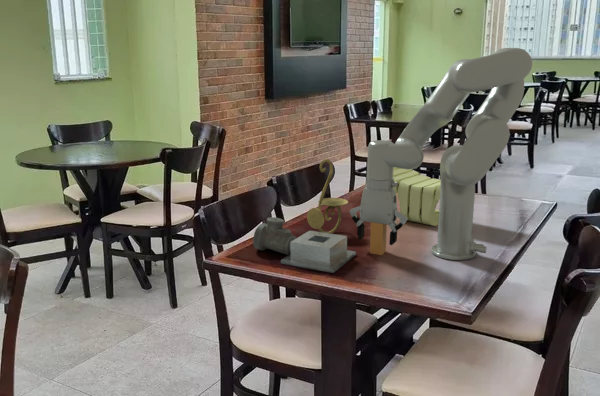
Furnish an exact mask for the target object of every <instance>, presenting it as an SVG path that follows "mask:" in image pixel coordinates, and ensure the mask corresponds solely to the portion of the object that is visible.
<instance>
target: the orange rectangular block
mask: <svg viewBox="0 0 600 396" xmlns="http://www.w3.org/2000/svg"><path fill="white" fill-rule="evenodd" d="M387 226H388V225H385V224H379V223H373V222H370V238H369V240H370V241H369V242H370V244H369V247H370V249H369V253H370V254H372V255H379V256H383V255H384V254H385V253H386V252H387V233H388V232H387V229H388V228H387Z"/></svg>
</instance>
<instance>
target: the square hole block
mask: <svg viewBox="0 0 600 396" xmlns="http://www.w3.org/2000/svg"><path fill="white" fill-rule="evenodd" d="M290 251H291V254H290V255H286V256H285V257H284V258H283V257H282V259H281V260H280V264H282V265H287V266H293V267H297V268H304V269H309V270H314V271H315V270H316V271H321V272H326V273H332V274H334V273H335V272H336V271H338V270H339V269H340V268H341V267H343V266H344V265H345V264H346V263H348V262H349V261H350V260H351V259H353V258H354V257H355V256H356V255H357V251H354V250H348V235H342V234H335V233H332V234H330V233H323V232H320V231H315V230H308V231H307V232H305V233H303V234H301V235H300V236H298V237H296V239H295V240H293V241H291V242H290ZM347 261H348V262H347Z"/></svg>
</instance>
